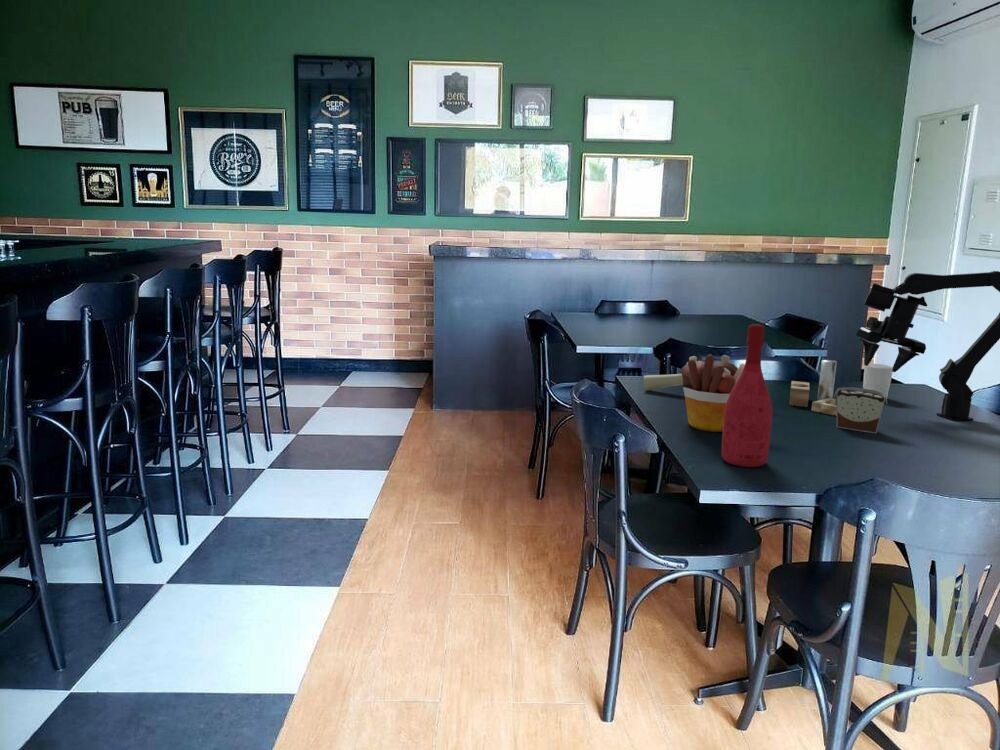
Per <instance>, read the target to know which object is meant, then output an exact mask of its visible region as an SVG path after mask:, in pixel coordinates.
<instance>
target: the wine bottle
mask: <svg viewBox="0 0 1000 750" xmlns="http://www.w3.org/2000/svg"><path fill="white" fill-rule="evenodd" d="M765 329H766V328H765V326H764V325H763V324H759V323H753V324H750V325H748V327H747V338H746V339H747V340H746V346H747V351H746V352H747V353H746V359H745V363H744V364H745V366H744V369H743V371H742V373H741V375H740V377H739V379H738V380H737V382H736V384H735V386H734V387H733V389H732V391H731V393H730V395H729V398H728V400H727V403H726V406H725V412H724V421H723V432H722V436H721V458H722V459H723V461H725V462H726V463H727V464H731V465H734V466H736V467H741V468H742V467H744V468H757V467H762V466H764V465H765V464H766V463H767V461H768V457H769V452H770V444H771V436H772V433H771V432H772V428H773V404H772V399H771V396H770V392H769V388H768V386H767V384H766V381H765V380H766V379H765V377H764V374H763V370H762V348H763V346H764V336H765V335H764V334H765Z"/></svg>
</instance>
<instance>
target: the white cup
mask: <svg viewBox="0 0 1000 750" xmlns="http://www.w3.org/2000/svg"><path fill="white" fill-rule="evenodd" d="M863 369H864V371H863V385H862V388H863V389H870V390H875V391H879V392H882V393H884V394H886V397H887V398H888V394H889V390H890V386H891V383H892V377H893V373H894V372H893V371H892V369H893V366H891V365H888V364H883V363H882V364H881V363H869V364H868V366H865V365H864V368H863Z"/></svg>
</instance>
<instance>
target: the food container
mask: <svg viewBox="0 0 1000 750" xmlns="http://www.w3.org/2000/svg"><path fill="white" fill-rule="evenodd" d="M833 397H834V398H835V397H836V405H837V416H836V423H835V424H836V428H840V429H845V430H846V429H847V430H852V431H858V432H865V433H871V434H877V433H878V432H877V431H878V427H879V425H880V420H881V416H882V414H883V413H882V412H883V408H884V406H885V403H886V405H887V404H888V397H886V394H884V393H882V392H879V391H875V390H870V389H864V388H863V387H862V388H861V387H838V388H837V389H836V390H835V393H834V394H833Z"/></svg>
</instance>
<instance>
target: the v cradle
mask: <svg viewBox="0 0 1000 750" xmlns="http://www.w3.org/2000/svg"><path fill="white" fill-rule="evenodd" d="M811 411H812V412H816V413H820V412H821V413H822V414H825V415H829V416H834V415H835V417H837V398H827V399H823V400H819V401H817V400H814V401H812V403H811ZM821 413H820V414H821Z"/></svg>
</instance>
